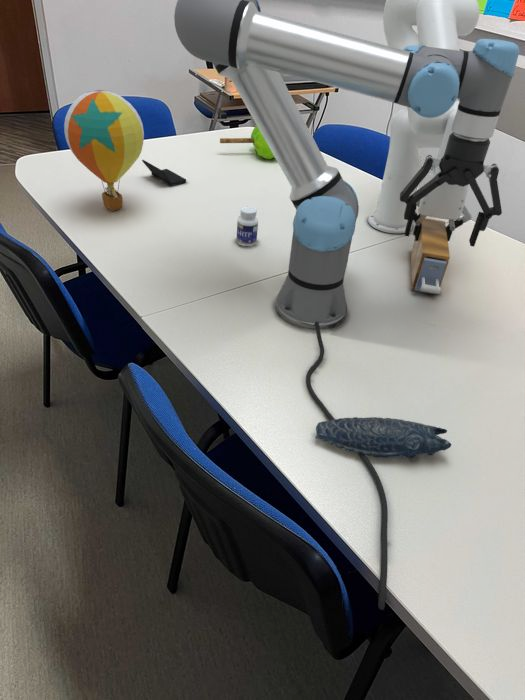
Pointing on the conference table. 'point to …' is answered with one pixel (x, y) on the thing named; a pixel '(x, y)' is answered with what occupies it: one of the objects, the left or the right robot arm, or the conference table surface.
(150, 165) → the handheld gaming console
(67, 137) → the toy
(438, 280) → the drawer
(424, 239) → the tan wooden box
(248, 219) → the pill bottle
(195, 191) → the conference table surface
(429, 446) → the fish model
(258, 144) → the decorative tree
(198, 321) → the conference table surface
